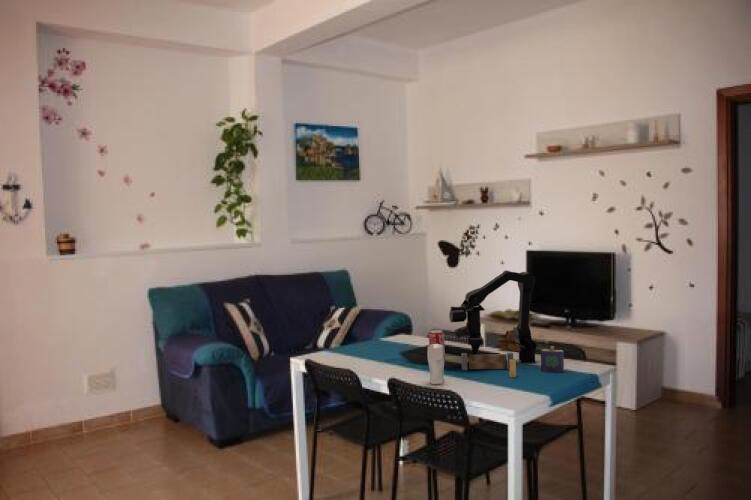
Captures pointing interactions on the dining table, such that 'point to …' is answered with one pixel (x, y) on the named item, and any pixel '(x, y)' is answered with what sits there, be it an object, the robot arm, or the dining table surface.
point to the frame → (510, 363)
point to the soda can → (436, 337)
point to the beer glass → (436, 363)
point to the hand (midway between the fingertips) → (474, 355)
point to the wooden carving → (509, 342)
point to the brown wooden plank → (488, 361)
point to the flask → (552, 360)
